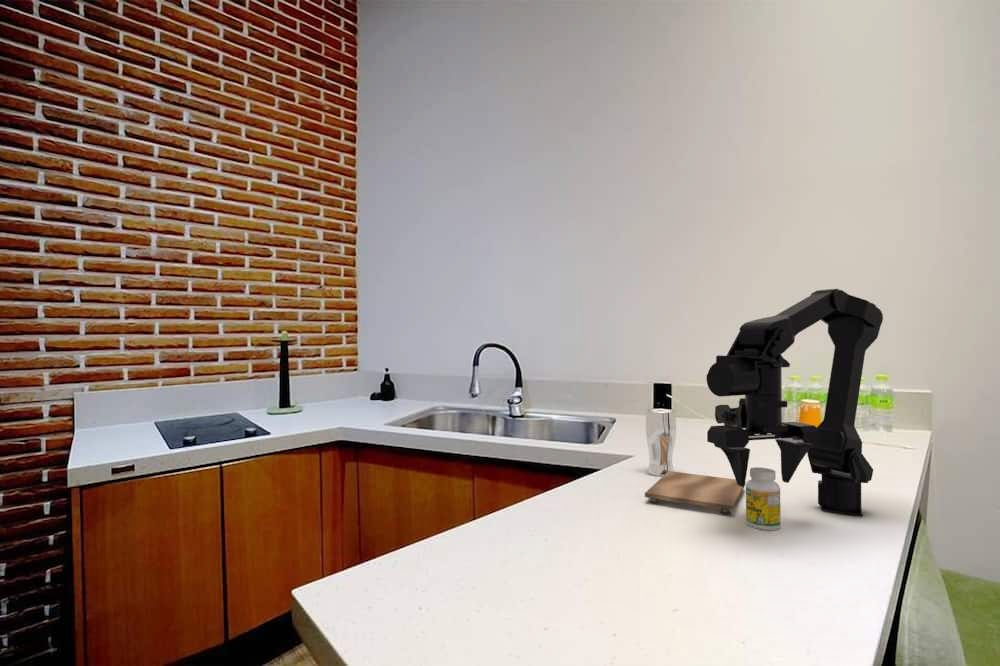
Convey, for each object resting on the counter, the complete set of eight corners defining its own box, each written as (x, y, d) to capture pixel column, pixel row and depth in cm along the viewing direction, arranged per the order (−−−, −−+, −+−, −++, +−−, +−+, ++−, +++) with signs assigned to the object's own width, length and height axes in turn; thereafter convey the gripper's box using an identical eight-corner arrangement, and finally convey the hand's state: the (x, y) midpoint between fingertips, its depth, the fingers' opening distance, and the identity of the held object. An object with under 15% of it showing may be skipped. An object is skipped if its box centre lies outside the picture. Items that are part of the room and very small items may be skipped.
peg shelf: (745, 490, 115) (745, 480, 115) (733, 517, 98) (733, 506, 98) (668, 479, 123) (668, 471, 123) (644, 503, 106) (644, 492, 106)
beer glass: (680, 477, 125) (680, 412, 125) (649, 477, 125) (649, 412, 125) (671, 469, 132) (671, 408, 132) (642, 469, 132) (642, 408, 132)
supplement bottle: (787, 529, 92) (787, 472, 92) (762, 532, 90) (762, 475, 90) (763, 519, 97) (763, 465, 97) (738, 522, 95) (738, 467, 95)
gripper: (773, 388, 104) (773, 469, 104) (688, 390, 99) (688, 476, 99) (821, 394, 93) (822, 485, 93) (728, 397, 88) (728, 493, 88)
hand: (763, 484), depth 93 cm, fingers open, 9 cm apart
